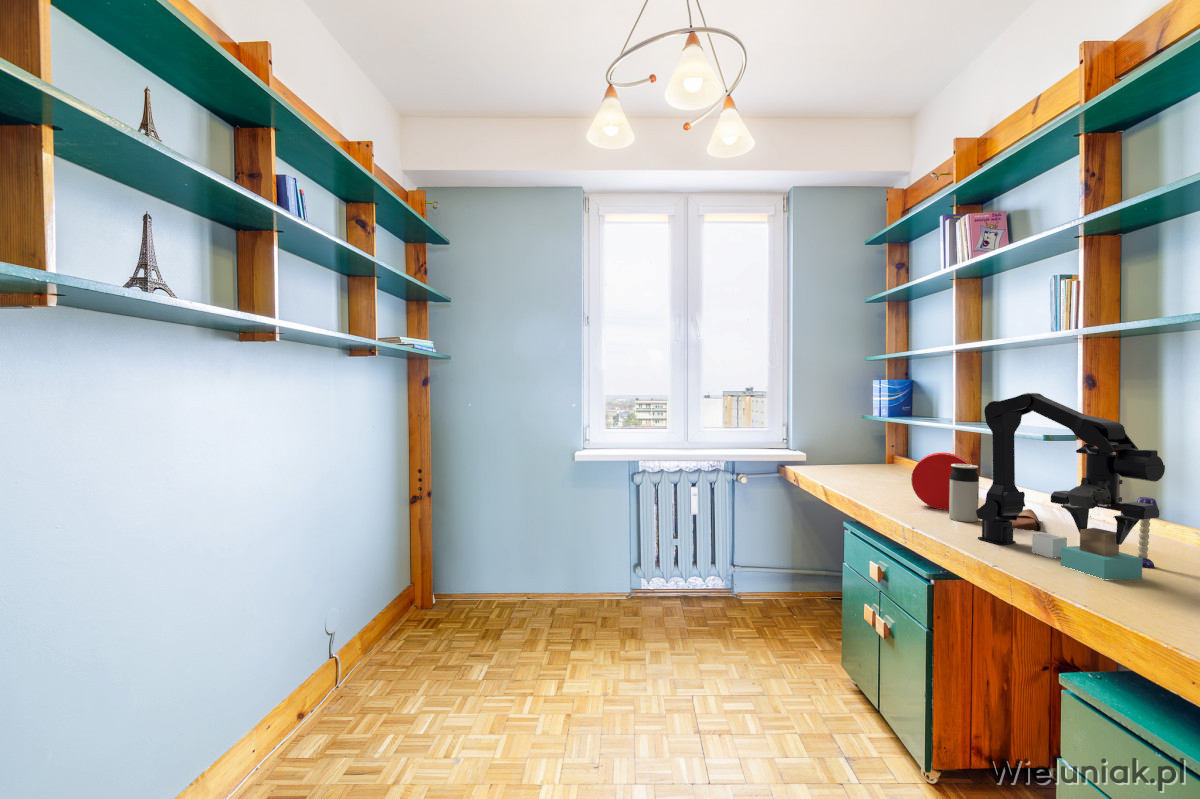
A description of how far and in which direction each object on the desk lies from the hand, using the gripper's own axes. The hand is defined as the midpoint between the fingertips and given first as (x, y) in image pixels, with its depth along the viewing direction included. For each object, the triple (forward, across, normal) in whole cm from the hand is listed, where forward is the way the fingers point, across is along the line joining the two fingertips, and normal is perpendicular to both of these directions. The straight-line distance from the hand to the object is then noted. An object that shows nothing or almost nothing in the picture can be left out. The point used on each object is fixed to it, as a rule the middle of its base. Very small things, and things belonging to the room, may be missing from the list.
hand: (1100, 540), depth 128 cm
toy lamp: (+8, 0, +16) cm, 18 cm away
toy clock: (+8, -63, +26) cm, 69 cm away
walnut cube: (+3, 0, 0) cm, 3 cm away
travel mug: (+8, -48, +17) cm, 52 cm away
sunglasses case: (+8, -38, +30) cm, 49 cm away
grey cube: (+8, -13, +3) cm, 15 cm away
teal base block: (+8, 0, 0) cm, 8 cm away
